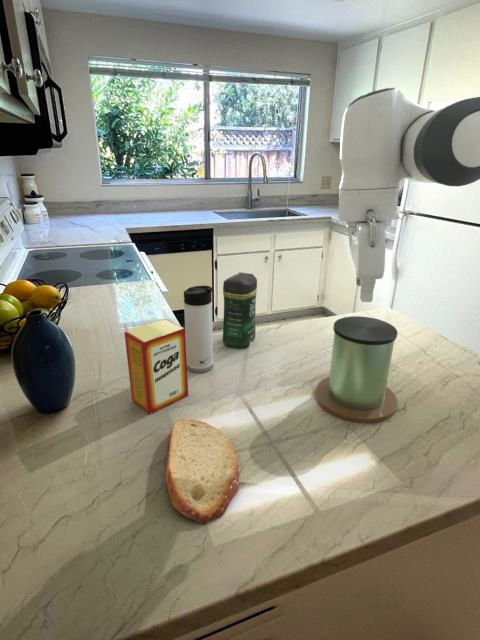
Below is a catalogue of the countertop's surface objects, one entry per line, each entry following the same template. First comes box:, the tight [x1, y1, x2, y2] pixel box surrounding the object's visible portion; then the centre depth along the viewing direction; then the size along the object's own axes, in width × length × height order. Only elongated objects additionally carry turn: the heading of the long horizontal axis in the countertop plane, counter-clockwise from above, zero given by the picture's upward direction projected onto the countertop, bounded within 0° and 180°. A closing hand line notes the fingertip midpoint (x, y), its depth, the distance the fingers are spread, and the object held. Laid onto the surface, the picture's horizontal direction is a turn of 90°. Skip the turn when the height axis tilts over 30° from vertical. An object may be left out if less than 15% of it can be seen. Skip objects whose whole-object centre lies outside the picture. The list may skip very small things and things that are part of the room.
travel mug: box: [183, 285, 214, 374], centre depth 92 cm, size 6×7×20 cm
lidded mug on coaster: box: [314, 315, 398, 424], centre depth 80 cm, size 16×18×16 cm
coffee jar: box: [222, 271, 258, 349], centre depth 106 cm, size 10×8×19 cm
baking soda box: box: [123, 318, 189, 415], centre depth 81 cm, size 10×6×16 cm
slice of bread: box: [165, 419, 240, 524], centre depth 65 cm, size 18×18×4 cm
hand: (363, 292), depth 68 cm, fingers open, 8 cm apart
